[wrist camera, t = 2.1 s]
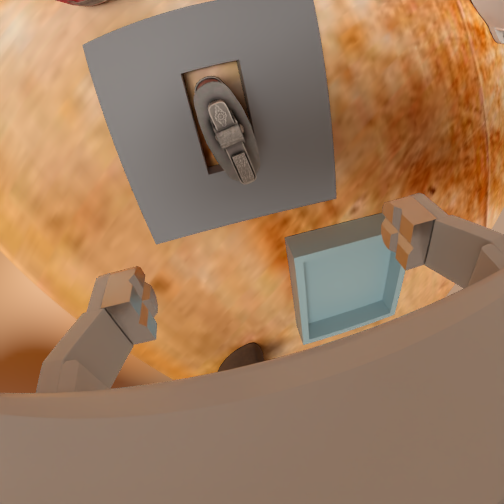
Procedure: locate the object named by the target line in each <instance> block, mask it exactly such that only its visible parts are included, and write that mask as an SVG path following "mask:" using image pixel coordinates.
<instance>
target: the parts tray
mask: <svg viewBox="0 0 504 504" xmlns="http://www.w3.org/2000/svg"><path fill="white" fill-rule="evenodd" d="M384 219H385V216H384V215H383V214H382V213H380V214H376V215H372V216H368V217H364V218H360V219H356V220H352V221H348V222H344V223H340V224H336V225H332V226H328V227H324V228H320V229H316V230H312V231H308V232H304V233H301V234H297V235H293V236H289V237H285V243H286V250H287V257H288V264H289V271H290V278H291V285H292V293H293V300H294V308H295V316H296V324H297V328H298V331H299V334H300V336H301V339H302V342H303V345H305V344H308V343H312V342H315V341H318V340H321V339H325V338H328V337H331V336H334V335H337V334H341V333H344V332H347V331H350V330H353V329H356V328H359V327H361V326H364V325H367V324H370V323H373V322H376V321H378V320H381V319H384V318H386V317H389V316H392V315H394V313H395V310H396V306H397V302H398V299H399V295H400V291H401V287H402V282H403V278H404V274H405V270H404V268H403V267H402V266H401V264H400V263H399V262H398V261H397V259H396V258H395V257H396V253H395V252H393V251H390V250H389V249H388V248H387V247H386V246H385V244H384V242H383V239H382V235H381V224H382V222H383V221H384Z"/></svg>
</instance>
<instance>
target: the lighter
mask: <svg viewBox="0 0 504 504" xmlns="http://www.w3.org/2000/svg"><path fill="white" fill-rule="evenodd" d="M194 106H195V110H196V114H197V118H198V122H199V125H200V128H201V130H202V133H203V135H204V138H205V140H206V143H207V145H208V146H209V148H210V150H211V152H212V153H213V155H214V157H215V159H216V160H217V162H218V163H219V164H220V166H221V167H222V168H223V170H224V171H225V172H226V174H227V175H228V176H229V177H230V178H231V179H233V180H236V181H240V182H241V183H242V184H249V183H252V182H253V181H255V180H256V174H257V173H258V171H259V169H260V158H259V153H258V147H257V143H256V139H255V136H254V133H253V130H252V127H251V124H250V122H249V120H248V118H247V116H246V114H245V112H244V110H243V108H242V106H241V105H240V103H239V102H238V100H237V99H236V97H235V96H234V94H233V93H232V92H231V90H230V89H229V88H228V87H227V86H226V85H225V84H224V83H223V82H222V81H221V80H220V79H219V78H217V77H214V76H208V77H204V78H202V79H201V80H199V82H198V83H197V84H196V86H195V95H194Z"/></svg>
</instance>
